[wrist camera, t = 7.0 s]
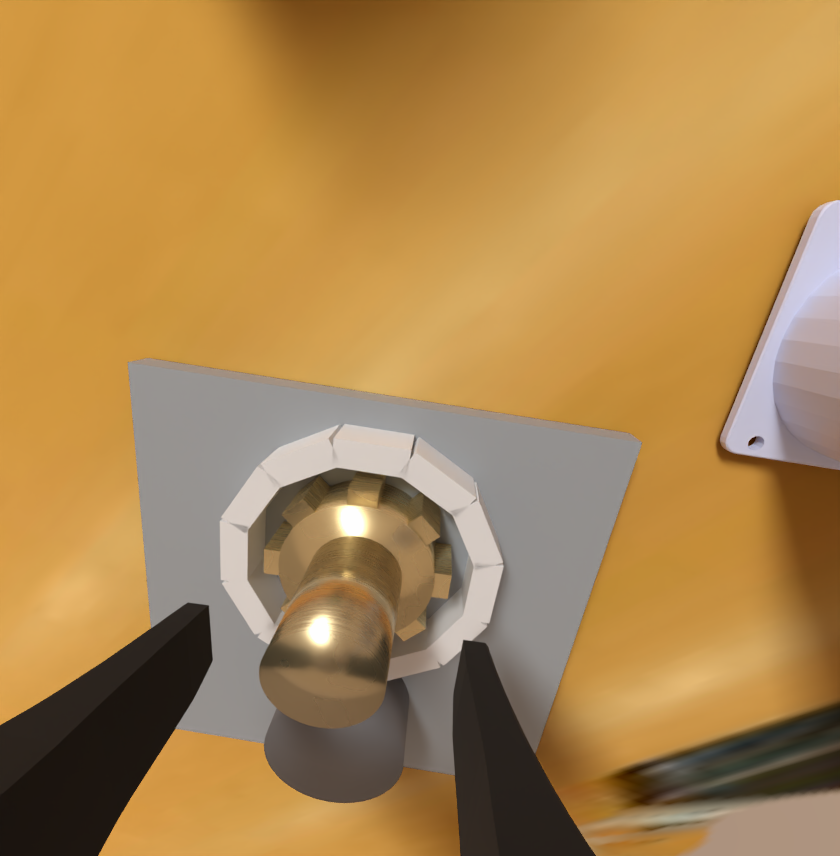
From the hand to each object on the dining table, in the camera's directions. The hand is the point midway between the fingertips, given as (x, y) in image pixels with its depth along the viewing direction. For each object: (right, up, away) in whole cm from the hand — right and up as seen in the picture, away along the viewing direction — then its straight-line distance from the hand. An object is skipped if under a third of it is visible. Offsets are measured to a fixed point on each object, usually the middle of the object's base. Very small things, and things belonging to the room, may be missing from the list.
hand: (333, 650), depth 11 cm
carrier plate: (0, -1, +6) cm, 7 cm away
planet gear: (0, +2, +4) cm, 5 cm away
